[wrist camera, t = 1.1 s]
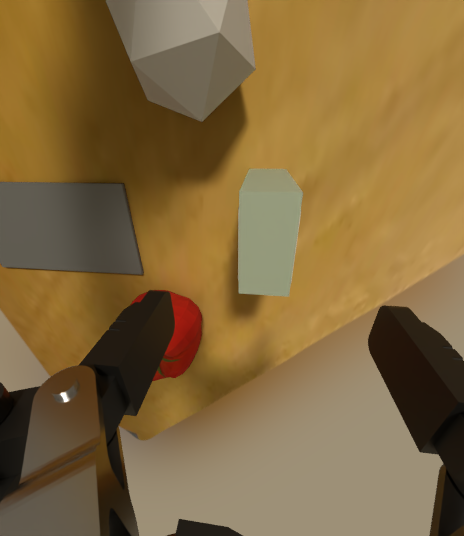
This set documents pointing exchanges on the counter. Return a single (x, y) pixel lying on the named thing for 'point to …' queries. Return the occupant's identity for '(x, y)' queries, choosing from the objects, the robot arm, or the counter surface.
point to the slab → (267, 231)
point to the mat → (67, 227)
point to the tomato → (180, 337)
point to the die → (186, 50)
